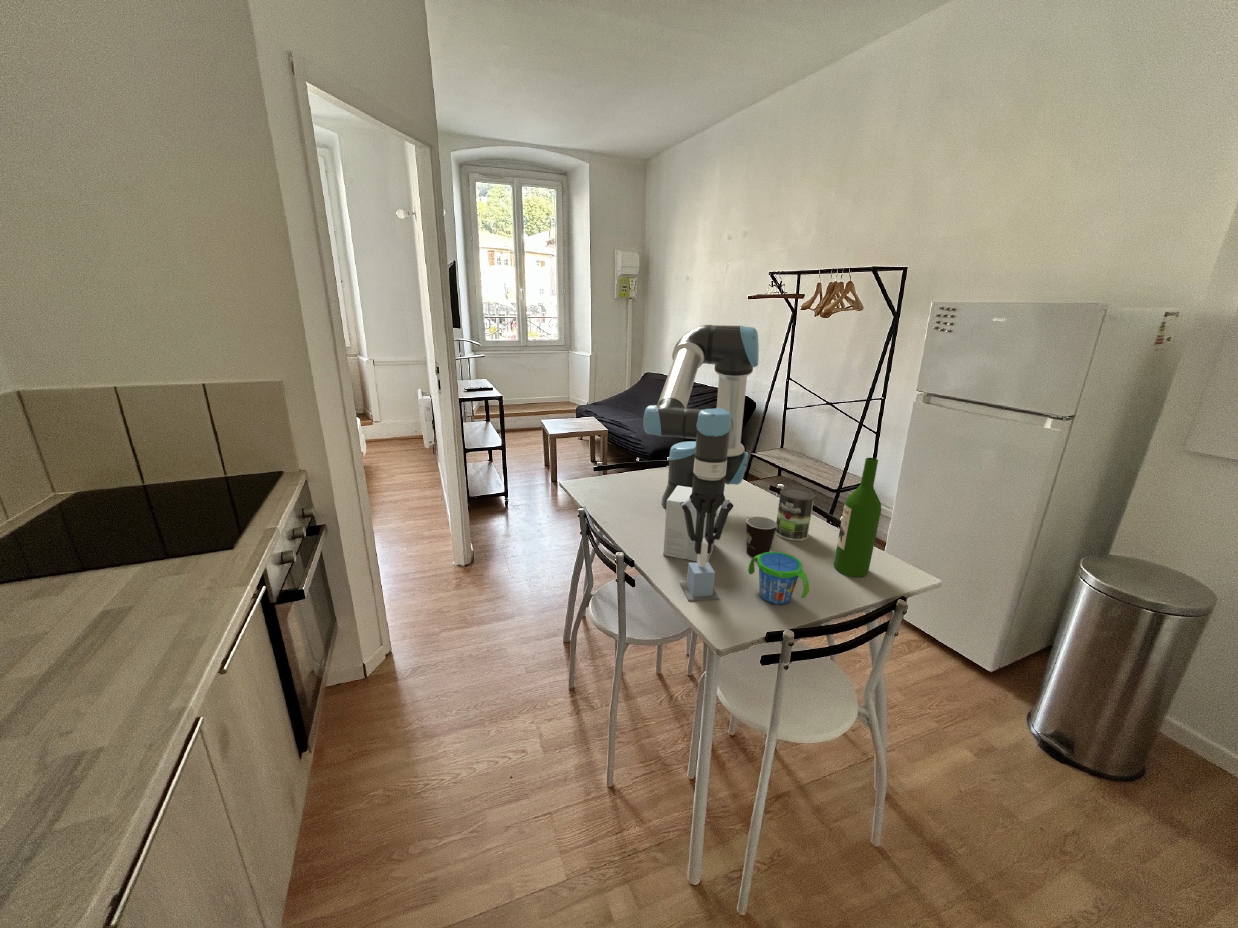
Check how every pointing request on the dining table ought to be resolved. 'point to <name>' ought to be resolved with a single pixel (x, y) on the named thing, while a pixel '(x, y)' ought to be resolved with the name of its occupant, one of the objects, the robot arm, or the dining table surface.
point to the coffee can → (794, 513)
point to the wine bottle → (859, 526)
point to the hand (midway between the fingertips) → (701, 564)
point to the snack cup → (778, 576)
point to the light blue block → (700, 579)
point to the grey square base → (690, 598)
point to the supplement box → (681, 527)
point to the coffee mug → (759, 535)
